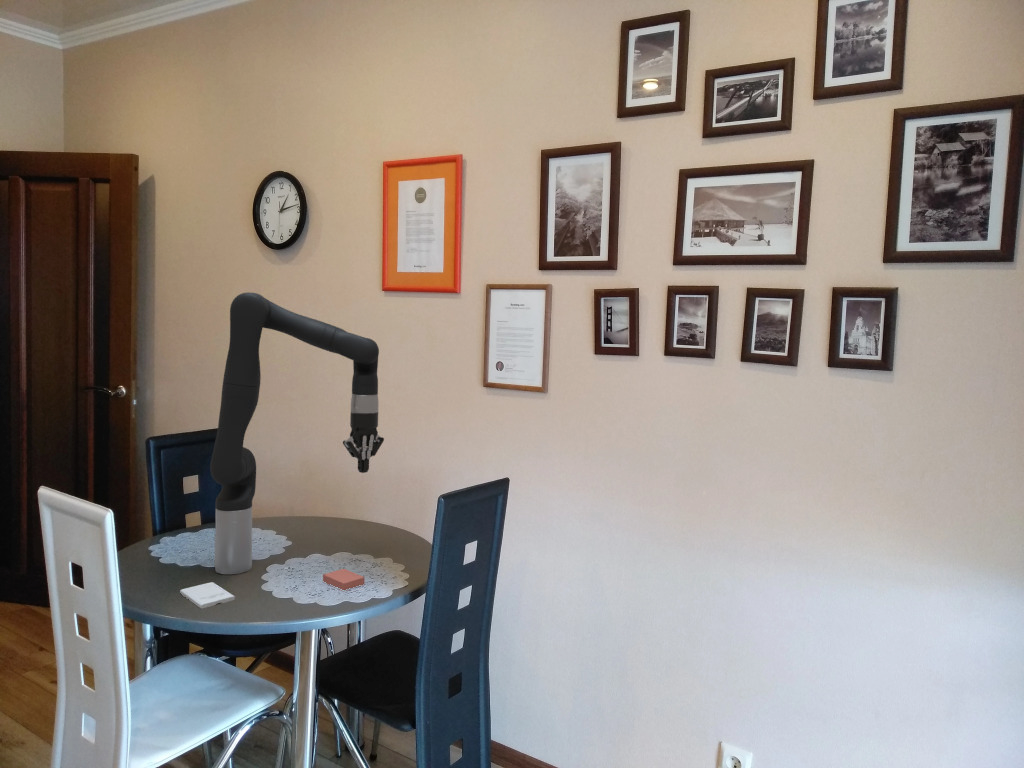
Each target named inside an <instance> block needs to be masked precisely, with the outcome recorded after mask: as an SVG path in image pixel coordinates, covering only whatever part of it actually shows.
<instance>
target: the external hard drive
mask: <svg viewBox="0 0 1024 768" xmlns="http://www.w3.org/2000/svg"><path fill="white" fill-rule="evenodd" d="M180 593H181V594H182V595H181V594H180ZM179 594H180V595H181V596H183V597H184V598H185V597H186V598H185V599H187V600H188V599H189V600H188V601H190V603H192V604H193V605H195V606H197V607H198V608H199V609H206V608H209V607H213V606H217V605H219V603H220V604H224V603H228V602H232V601H235V600H236V596H235V595H233V594H232V593H230V592H228V591H227V590H225V588H222V587H221V586H219V585H217V584H216V583H215V582H213V581H211V582H207V583H202V584H198V585H195V586H190V587H186V588H182V589H180V590H179Z"/></svg>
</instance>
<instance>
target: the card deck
mask: <svg viewBox="0 0 1024 768" xmlns="http://www.w3.org/2000/svg"><path fill="white" fill-rule="evenodd" d="M323 581H324V582H326V583H328V584H331V585H333V586H335V587H338V588H340V589H342V590H346V589H349V588H353V587H356V586H359V585H362V586H364V585H365V576H363V575H360V574H359V573H358V574H357V573H355V572H353V571H351V570H348V569H346V568H342V569H341V568H340V569H337V570H334V571H331V572H328V573H324V574H322V582H323ZM324 582H323V583H324ZM326 583H325V584H326ZM328 584H327V585H328ZM363 584H364V585H363ZM331 585H330V586H331ZM333 586H332V587H333ZM335 587H334V588H335ZM359 587H360V586H359ZM356 588H357V587H356ZM340 589H339V590H340ZM353 589H354V588H353ZM342 590H341V591H342ZM349 590H350V589H349ZM346 591H347V590H346Z"/></svg>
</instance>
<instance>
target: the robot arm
mask: <svg viewBox="0 0 1024 768" xmlns="http://www.w3.org/2000/svg"><path fill="white" fill-rule="evenodd" d="M229 309H230V310H229V344H228V351H227V357H226V360H225V368H224V373H223V379H222V388H221V395H220V396H221V398H220V399H221V400H220V408H219V417H218V424H217V432H216V437H215V442H214V445H213V451H212V455H211V460H210V465H209V467H210V468H209V469H210V474H211V477H212V479H213V480H214V481H215V482H216V483H217V484H218V485H220V486H222V488H221V490H220V493H218V495H217V496H216V498H215V533H214V568H215V572H216V573H217V574H221V575H237V574H238V575H239V574H242V573H243V574H244V573H246V572H248V571H250V570H251V569H252V566H253V560H252V559H253V500H254V498H255V497H254V496H255V495H256V487H257V486H256V485H257V484H256V483H257V462H256V458H255V456H254V454H253V451H252V450H250V449H249V448H246V447H244V442H245V441H244V440H245V436H246V432H247V429H248V427H249V425H250V422H251V420H252V418H253V416H254V413H255V411H256V409H257V406H258V403H259V397H260V389H261V379H262V378H261V377H262V376H261V363H260V362H261V360H260V341H261V338H262V336H261V335H262V333H263V332H262V331H263V329H268V330H272V331H277V332H280V333H283V334H285V335H288V336H291V337H293V338H295V339H297V340H299V341H301V342H303V343H306V344H308V345H310V346H312V347H316V348H318V349H322V350H324V351H327V352H330V353H333V354H337V355H340V356H342V357H345V358H347V359H349V360H351V361H352V366H353V373H352V380H351V397H350V417H349V418H350V424H349V425H350V429H351V430H350V433H349V437H348V438H347V439H344V440H343V441H342V445H343V446H344V447H345V448H346V450H347V451H348V453H349V454H350V456H351V458H356V459H357V471H358V472H359V473H362V474H364V473H368V471H369V470H370V459H371V458H372V457H375V456H376V454H377V453H378V451H379V449H380V448H381V446H382V444H383V443H384V440H385V438H384V437H381V436H380V435H379V433H378V429H377V428H378V426H379V379H378V367H379V354H380V349H379V346H378V344H377V342H376V341H374V340H373V339H371V338H370V337H364V336H362V335H359V334H355V333H352V332H348V331H346V330H344V329H343V328H341V327H338V326H335V325H334V324H330V323H326V322H324V321H321V320H318V319H314V318H311V317H309V316H306V315H302V314H299V313H297V312H296V313H295V312H293V311H291V310H289V309H287V308H284V307H282V306H280V305H278V304H277V303H275V302H273V301H271V300H269V299H267V298H265V297H264V296H263V295H262V294H259V293H257V292H251V291H250V292H242V293H240V294H237V296H235V297H234V298H233V300H232V302H231V304H230V308H229Z"/></svg>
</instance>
